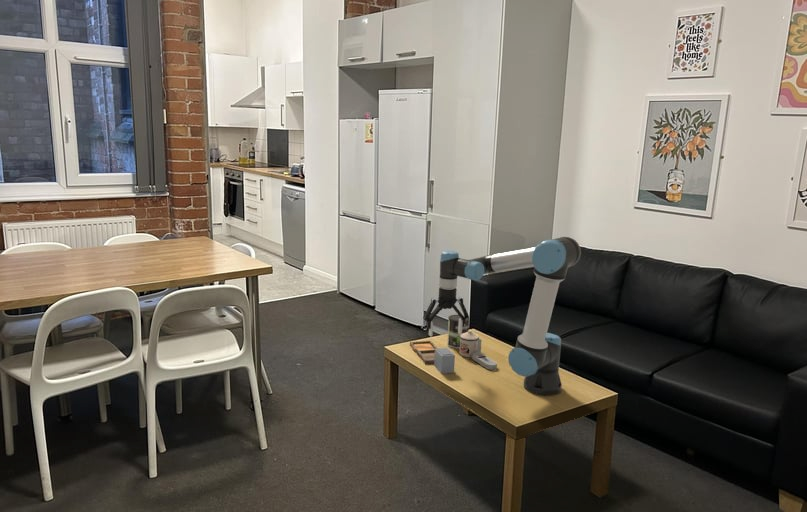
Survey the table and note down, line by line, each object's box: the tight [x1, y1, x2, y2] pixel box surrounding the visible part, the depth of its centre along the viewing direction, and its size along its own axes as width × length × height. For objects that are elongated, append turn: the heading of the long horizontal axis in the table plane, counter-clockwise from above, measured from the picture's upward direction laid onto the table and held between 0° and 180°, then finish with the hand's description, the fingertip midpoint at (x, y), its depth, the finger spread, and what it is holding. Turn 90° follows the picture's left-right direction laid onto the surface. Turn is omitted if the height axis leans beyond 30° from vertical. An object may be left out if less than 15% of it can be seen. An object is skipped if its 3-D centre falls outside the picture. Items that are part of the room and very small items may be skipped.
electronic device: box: [471, 338, 498, 371], centre depth 254 cm, size 5×10×15 cm
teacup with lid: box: [459, 329, 480, 358], centre depth 263 cm, size 12×9×12 cm
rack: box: [409, 340, 438, 365], centre depth 265 cm, size 24×11×2 cm, turn 16°
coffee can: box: [446, 314, 470, 350], centre depth 276 cm, size 10×10×14 cm
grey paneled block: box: [433, 347, 456, 374], centre depth 247 cm, size 9×6×8 cm, turn 16°
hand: (445, 334), depth 245 cm, fingers open, 13 cm apart
